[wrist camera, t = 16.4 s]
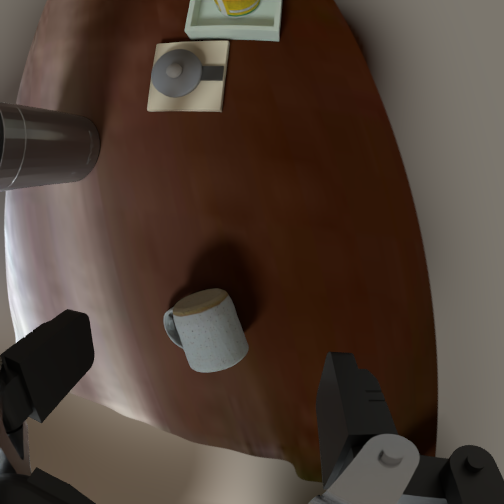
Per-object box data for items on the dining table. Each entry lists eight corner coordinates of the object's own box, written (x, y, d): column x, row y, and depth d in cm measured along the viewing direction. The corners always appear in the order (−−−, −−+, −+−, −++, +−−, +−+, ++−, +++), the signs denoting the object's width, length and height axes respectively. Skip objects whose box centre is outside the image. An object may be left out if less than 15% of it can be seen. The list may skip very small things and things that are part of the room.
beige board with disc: (150, 111, 34) (140, 107, 32) (159, 46, 32) (151, 39, 29) (221, 111, 34) (217, 107, 31) (229, 43, 32) (225, 34, 29)
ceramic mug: (232, 279, 39) (219, 304, 31) (252, 336, 40) (245, 369, 33) (158, 298, 41) (133, 323, 33) (180, 350, 42) (162, 382, 35)
